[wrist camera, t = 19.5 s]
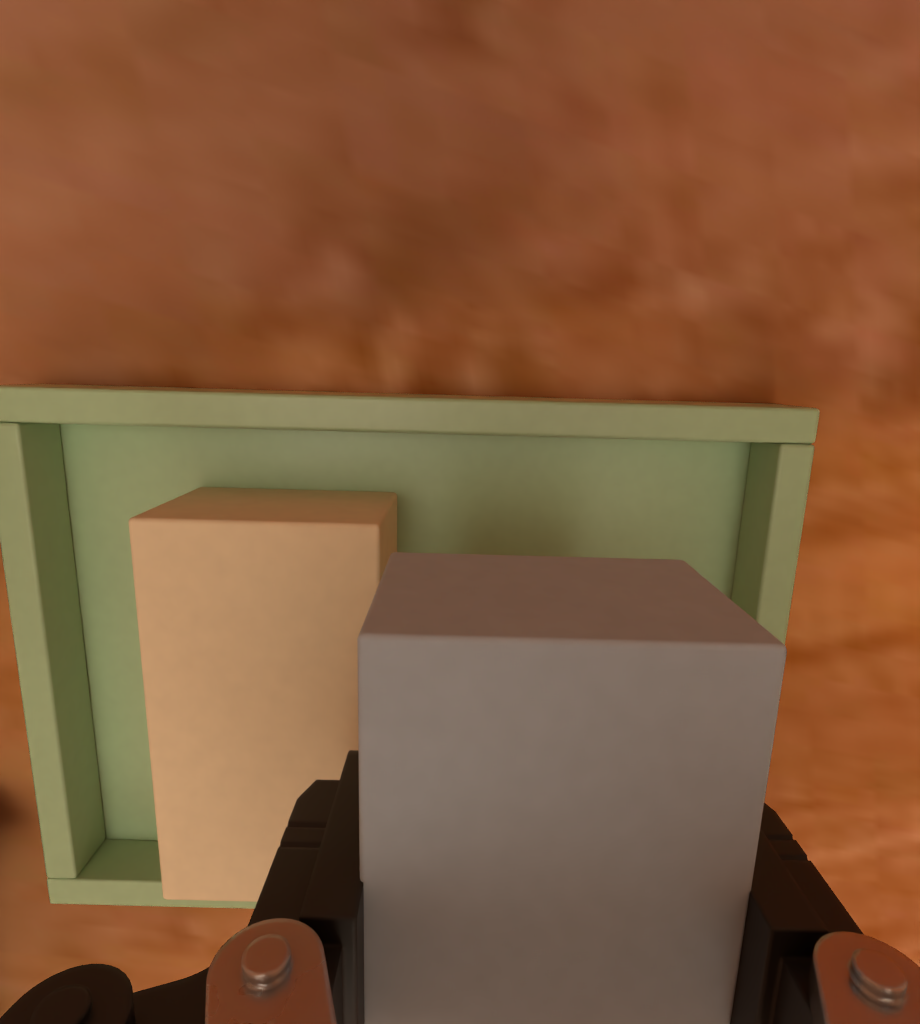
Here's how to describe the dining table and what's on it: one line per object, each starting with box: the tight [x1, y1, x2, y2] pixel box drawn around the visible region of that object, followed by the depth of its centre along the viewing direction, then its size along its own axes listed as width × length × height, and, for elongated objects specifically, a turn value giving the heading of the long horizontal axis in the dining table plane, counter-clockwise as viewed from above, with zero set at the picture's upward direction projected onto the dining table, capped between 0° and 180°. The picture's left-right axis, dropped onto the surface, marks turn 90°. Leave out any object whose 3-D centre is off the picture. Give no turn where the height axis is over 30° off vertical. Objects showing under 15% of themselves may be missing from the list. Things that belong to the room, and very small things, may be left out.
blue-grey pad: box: [357, 552, 787, 1024], centre depth 10 cm, size 9×5×4 cm, turn 179°
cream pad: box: [129, 487, 397, 902], centre depth 15 cm, size 9×5×4 cm, turn 178°
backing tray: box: [0, 384, 820, 909], centre depth 16 cm, size 14×19×2 cm
